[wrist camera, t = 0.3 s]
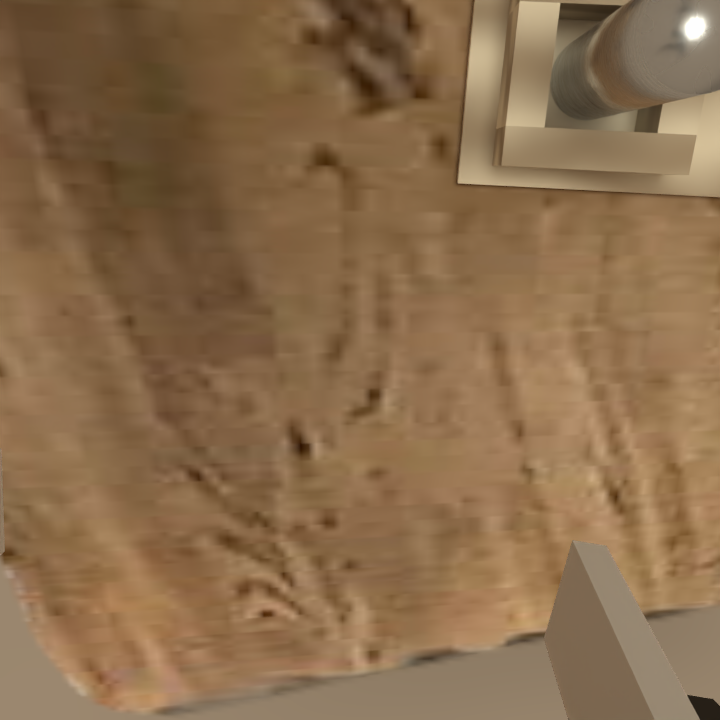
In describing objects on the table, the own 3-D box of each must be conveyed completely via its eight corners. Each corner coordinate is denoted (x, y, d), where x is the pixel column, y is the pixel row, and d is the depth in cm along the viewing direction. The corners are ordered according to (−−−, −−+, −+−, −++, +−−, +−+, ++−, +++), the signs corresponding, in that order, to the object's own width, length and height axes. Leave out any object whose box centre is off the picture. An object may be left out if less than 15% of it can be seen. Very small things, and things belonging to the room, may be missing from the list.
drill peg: (556, 33, 35) (653, -49, 21) (637, 36, 34) (787, -45, 21) (545, 118, 36) (630, 91, 23) (623, 122, 36) (756, 97, 22)
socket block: (485, -132, 33) (502, -190, 28) (884, -119, 32) (984, -177, 27) (456, 182, 38) (466, 186, 33) (803, 201, 37) (874, 207, 32)
